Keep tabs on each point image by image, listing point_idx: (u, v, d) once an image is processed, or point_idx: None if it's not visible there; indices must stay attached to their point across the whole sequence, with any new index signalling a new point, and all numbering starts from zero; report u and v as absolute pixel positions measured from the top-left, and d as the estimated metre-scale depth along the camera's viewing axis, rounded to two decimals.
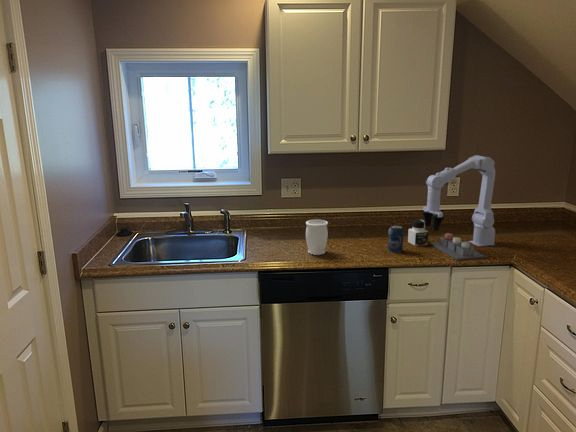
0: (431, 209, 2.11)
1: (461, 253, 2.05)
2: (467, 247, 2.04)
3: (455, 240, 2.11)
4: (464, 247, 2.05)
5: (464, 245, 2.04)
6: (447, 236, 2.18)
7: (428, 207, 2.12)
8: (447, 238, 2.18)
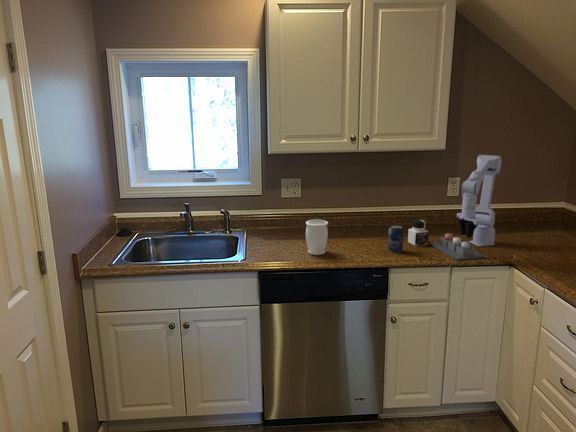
0: (466, 216, 2.00)
1: (461, 253, 2.05)
2: (467, 247, 2.04)
3: (455, 240, 2.11)
4: (464, 247, 2.05)
5: (464, 245, 2.04)
6: (447, 236, 2.18)
7: (463, 214, 2.01)
8: (447, 238, 2.18)
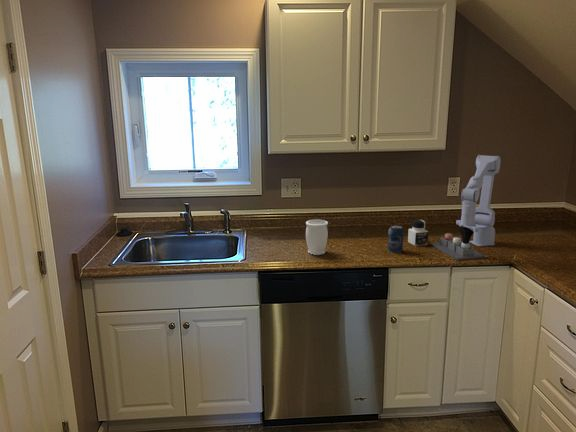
0: (466, 223, 2.01)
1: (461, 253, 2.05)
2: (467, 247, 2.04)
3: (455, 240, 2.11)
4: (464, 247, 2.05)
5: (464, 245, 2.04)
6: (447, 236, 2.18)
7: (462, 221, 2.02)
8: (447, 238, 2.18)
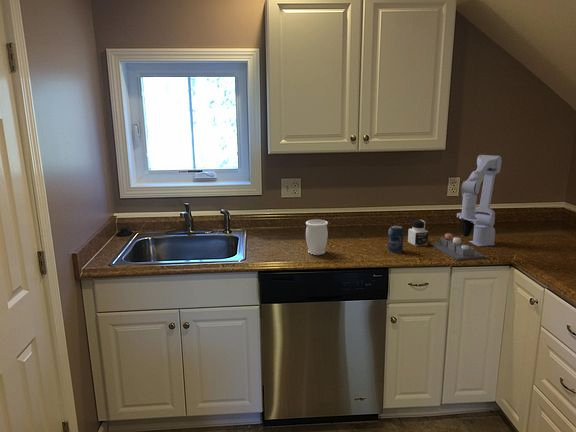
0: (466, 216, 2.00)
1: (461, 253, 2.05)
2: None
3: (455, 240, 2.11)
4: None
5: None
6: (447, 236, 2.18)
7: (463, 214, 2.01)
8: (447, 238, 2.18)
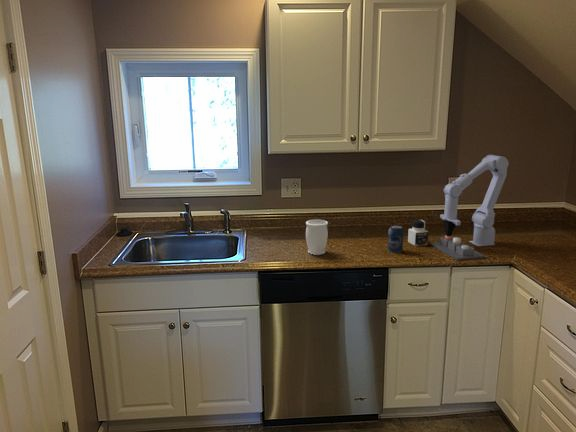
0: (448, 217, 2.14)
1: (461, 253, 2.05)
2: None
3: (455, 240, 2.11)
4: None
5: None
6: (447, 237, 2.18)
7: (445, 215, 2.15)
8: (447, 239, 2.18)
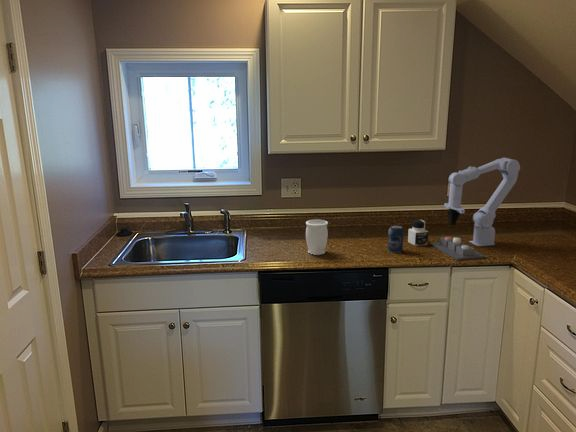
0: (453, 206, 2.16)
1: (461, 253, 2.05)
2: None
3: (455, 240, 2.11)
4: None
5: None
6: (447, 239, 2.18)
7: (450, 204, 2.17)
8: None
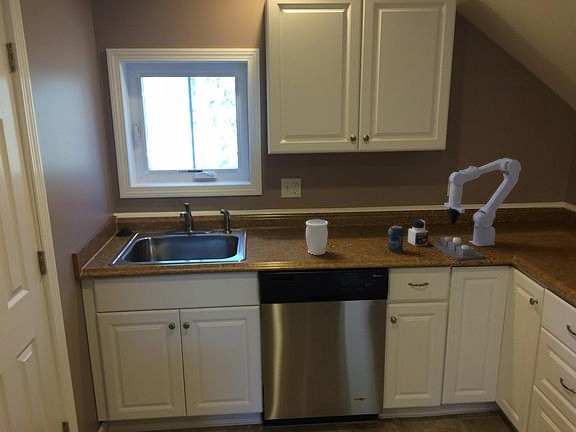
0: (453, 205, 2.17)
1: (461, 253, 2.05)
2: None
3: (455, 240, 2.11)
4: None
5: None
6: (447, 239, 2.18)
7: (450, 203, 2.18)
8: None
